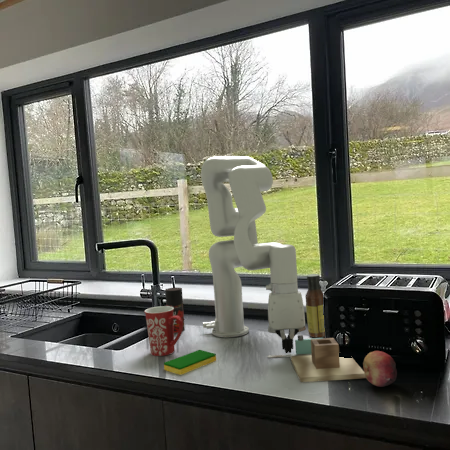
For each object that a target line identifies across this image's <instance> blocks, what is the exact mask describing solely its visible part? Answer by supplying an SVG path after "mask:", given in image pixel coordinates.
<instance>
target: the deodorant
mask: <svg viewBox="0 0 450 450" xmlns="http://www.w3.org/2000/svg"><path fill="white" fill-rule="evenodd" d="M183 300H184V299H183V287H169V288H165V303H166V305H165V306H170V307H173V308H174V310H173V316H179V317H181V319H182V321H183V330H182V333H183V332H185V318H184V317H185V315H184V314H185V313H184V301H183ZM178 331H179V323H178V321H177V320H176V319H174V334H178Z"/></svg>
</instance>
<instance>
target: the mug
mask: <svg viewBox="0 0 450 450" xmlns="http://www.w3.org/2000/svg"><path fill="white" fill-rule="evenodd" d="M173 310H174V308H173V307H170V306H166V305H164V306H163V305H162V306H160V305H159V306H154V307H153V306H152V307H149V308H147V309H145V310H144V314H145V321H146V327H147V335H148V343H149V349H150V350H149V351H150V354H151V355H152V356H155V357H163V356H168V355H172V354H173V353H174V352H175V345H177V343H178V341H179V340H180V338H181V335H182V333H183V332H182V330H183V321H182V319H181V317H179V316H173ZM174 319H176V320H177V321H178V323H179V331H178V333H176V336H175V333H174Z"/></svg>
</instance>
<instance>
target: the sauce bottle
mask: <svg viewBox="0 0 450 450" xmlns="http://www.w3.org/2000/svg"><path fill="white" fill-rule="evenodd" d="M320 279H321V277H320V274H318V273H317V274H316V273H310V274H307V275H306V280H307V291H306V293H305V297H304V298H305V310H306V320H307V330H308V335H309V336H310V337H312V338H325V337H326V336H325V328H324V315H323V294H324V295H325V293H324V292H323V290H322V289H321V286H320Z"/></svg>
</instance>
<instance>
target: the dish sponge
mask: <svg viewBox="0 0 450 450" xmlns="http://www.w3.org/2000/svg"><path fill="white" fill-rule="evenodd" d="M216 361H217V354H216V353H215V352H211V351H206V350H202V349H197V350H195V351H192V352H189V353H187V354H185V355H182V356H178V357H175V358H173V359H170V360H167V361H165V362H163V366H164V369H163V370H164V371H167V372H170V373H173V374H175V375H184V374H187V373H189V372H191V371H195V370H197V369H199V368H201V367H204V366H207V365H209V364H212V363H214V362H216Z"/></svg>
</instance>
